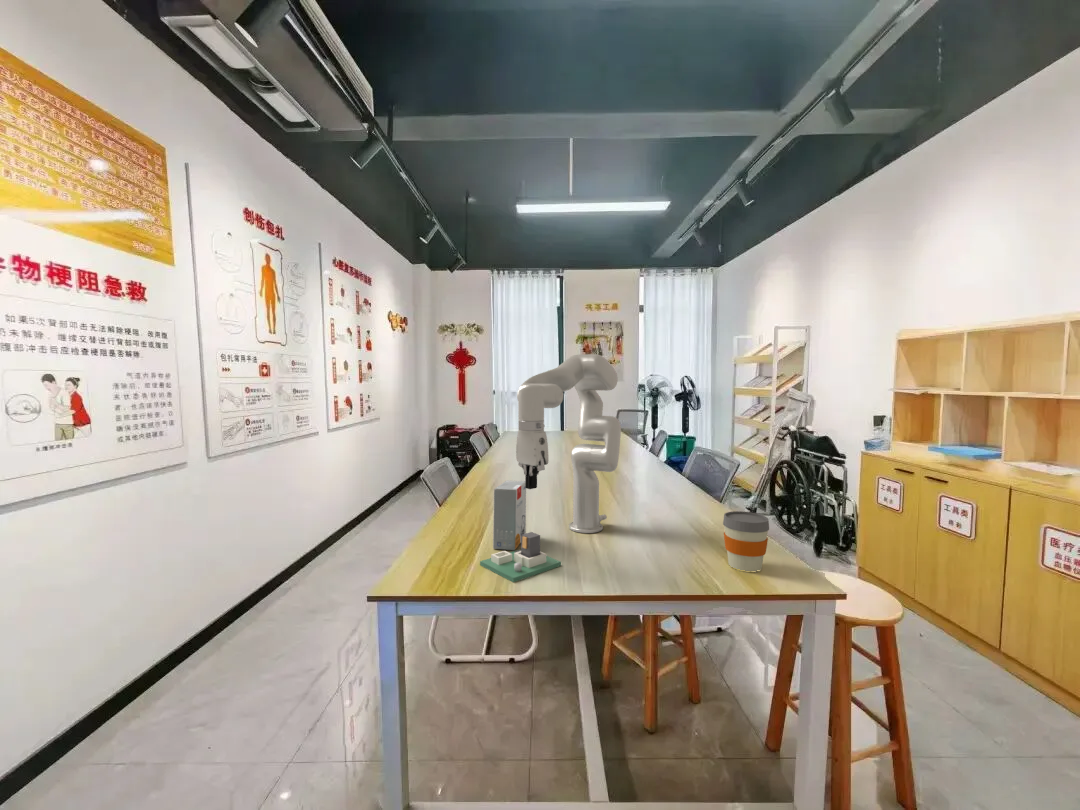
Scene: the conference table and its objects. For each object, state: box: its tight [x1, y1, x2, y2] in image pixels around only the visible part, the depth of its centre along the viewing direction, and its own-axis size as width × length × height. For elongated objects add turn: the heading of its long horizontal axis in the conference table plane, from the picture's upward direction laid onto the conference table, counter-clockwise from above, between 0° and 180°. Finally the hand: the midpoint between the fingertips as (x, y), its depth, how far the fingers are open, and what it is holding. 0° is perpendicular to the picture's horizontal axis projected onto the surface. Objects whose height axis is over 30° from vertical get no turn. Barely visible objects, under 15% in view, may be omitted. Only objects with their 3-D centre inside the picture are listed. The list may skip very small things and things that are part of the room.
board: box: [479, 548, 562, 583], centre depth 140 cm, size 18×16×3 cm
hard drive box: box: [492, 479, 527, 551], centre depth 160 cm, size 16×8×20 cm, turn 168°
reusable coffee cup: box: [722, 510, 770, 571], centre depth 139 cm, size 13×13×15 cm
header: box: [514, 551, 547, 568], centre depth 139 cm, size 7×7×2 cm
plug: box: [520, 531, 541, 558], centre depth 139 cm, size 4×4×8 cm
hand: (531, 488), depth 139 cm, fingers closed
